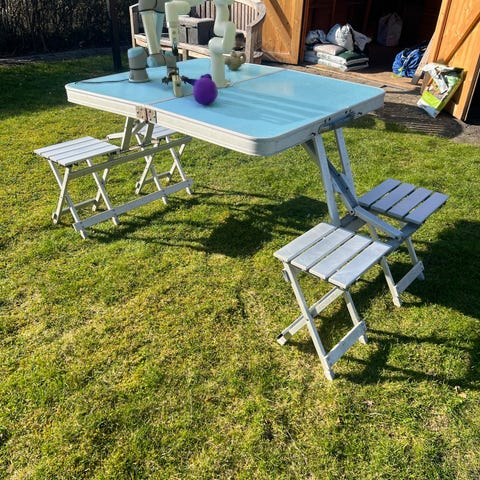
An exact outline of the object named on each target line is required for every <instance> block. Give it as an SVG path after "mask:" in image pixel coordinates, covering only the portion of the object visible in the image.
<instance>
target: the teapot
mask: <svg viewBox="0 0 480 480" xmlns="http://www.w3.org/2000/svg"><path fill="white" fill-rule="evenodd" d="M241 58H242V59H241ZM224 61H225V66H227V69H228V70H230V71H238V70H239V69H240V68H241V67H242V65H244V64H245V63H246V61H247V56H246V53H245V52H243V51H242V52H239V54H237V53H236V52H235V50H232V51H231V54H230V56H226V57H224Z"/></svg>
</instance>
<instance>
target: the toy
mask: <svg viewBox="0 0 480 480" xmlns="http://www.w3.org/2000/svg"><path fill="white" fill-rule="evenodd" d="M182 80H183V81H182V82H184V81H185V82H186V84H189V85H191V86H192V87H193V89H192V95H193V98H194V100H195V101H196V103H198V104H199V105H202V106H209V105H212V104H213V103H214V102H215V101H216V99H217V98H218V94H219V90H218V88H217V86H216V84H215V82H214V81H212V76H211V73H205V74H202V75H200V77H199V78H198V79H197V78H189V79H182Z"/></svg>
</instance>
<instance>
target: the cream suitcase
mask: <svg viewBox="0 0 480 480" xmlns="http://www.w3.org/2000/svg"><path fill="white" fill-rule="evenodd" d="M172 81H173V83H172V91H173V93H174V96H175V98H177V97H178V98H179V97H184V94H183V81H182V82H174V80H173V78H172Z"/></svg>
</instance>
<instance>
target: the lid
mask: <svg viewBox="0 0 480 480" xmlns="http://www.w3.org/2000/svg"><path fill="white" fill-rule="evenodd" d="M174 69H175V75H173V76H172V78H173V80H174V82H182V83H183V81H182V80H181V78H180V77H181V75H180V67H178V66H177V68H174ZM176 70H177V73H178V75H176Z"/></svg>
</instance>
